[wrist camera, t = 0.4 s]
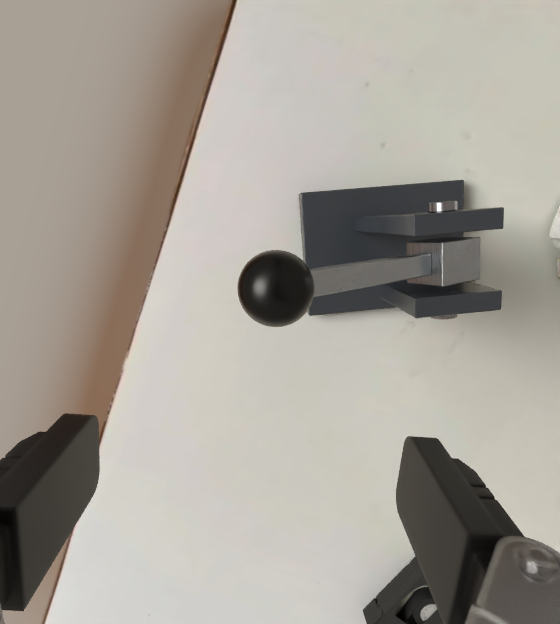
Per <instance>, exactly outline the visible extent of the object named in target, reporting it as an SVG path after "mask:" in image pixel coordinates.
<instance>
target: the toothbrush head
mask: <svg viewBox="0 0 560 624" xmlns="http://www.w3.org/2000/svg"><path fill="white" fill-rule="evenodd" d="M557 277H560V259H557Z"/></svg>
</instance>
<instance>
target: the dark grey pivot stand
mask: <svg viewBox="0 0 560 624" xmlns="http://www.w3.org/2000/svg"><path fill="white" fill-rule="evenodd" d="M299 204H300V218H301V233H302V247H303V261H304V263H305V264H306V265H307V267H308V268H309V269H313V268H320V267H326V266H333V265H340V264H346V263H353V262H360V261H366V260H373V259H380V258H386V257H393V256H400V255H406V254H407V244H406V243H407V242H411V241H418V240H426V239H433V238H441V237H463V233H464V232H470V231H482V230H493V229H503V218H504V208H503V207H501V208H482V209H464V180H455V181H443V182H431V183H418V184H406V185H393V186H381V187H369V188H356V189H344V190H331V191H319V192H307V193H301V194H299ZM501 298H502V291H501V290H497V289H494V288H490V287H486V286H483V285H479V284H475V283H472V282H465V283H460V284H456V285H451V286H446V287H437V286H428V285H420V284H411V283H408V282H407V280H402V281H397V282H391V283H386V284H381V285H375V286H370V287H365V288H359V289H354V290H348V291H343V292H338V293H332V294H327V295H322V296H316V297H313V300H312V303H311V305H310V307H309V309H308V311H307V313H308V314H309V315H310V316H312V315H322V314H333V313H343V312H353V311H364V310H374V309H384V308H395V307H397V308H399V309H401V310H403V311H405V312H406V313H408V314H410V315H412V316H413V317H415V318H423V317H431V318H434V319H452V318H455V317H457V314H463V313H474V312H484V311H494V310H501Z"/></svg>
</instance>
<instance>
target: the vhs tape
mask: <svg viewBox="0 0 560 624" xmlns="http://www.w3.org/2000/svg"><path fill="white" fill-rule="evenodd" d="M376 598H377V599H373V600H372V601H371V602H370V603H369V604H368V605H367V606H366V607H365V608H364V610H363V612H364V616H365V619H366V622H367V624H443V622H442V619H441V617H440V614H439V612H438V609H437V607H436V604H435V602H434V600H433V597H432V595H431V592H430V590H429V587H428V585H427V582H426V580H425V577H424V575H423V572H422V570H421V568H420V565H419V563H418V560H417V558H416V557H415V558H414V559H413V560H412V561H411V562H410V563H409V564H408V565H407V566H406V567H405V568H404V569H403V570H402V571H401V572H400V573H399V574H398V575H397V576H396V577H395V578H394V579H393V580H392V581H391V582H390V583H389V584H388V585H387V586H386V587H385V588H384V589H383V590H382V591H381V592H380V593H379V594H378V595H377V596H376Z"/></svg>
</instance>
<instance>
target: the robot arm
mask: <svg viewBox="0 0 560 624" xmlns="http://www.w3.org/2000/svg"><path fill="white" fill-rule="evenodd" d="M99 469H100V467H99V423H98V419H97V417H96V416H95V415H81V414H63V415H62V416H61V417H60V418H59V419H58V420H57V421H56V422H55V423H54V424H53V425H52V426H51V427H50V429H48V431H47V432H38V433H36V434H34V435H32V436H30V437H28V438H26V439H24V440H22V441H21V442H19V443H18V444H17V445H16V446H15V447H14V448H13V449H12V450H11V451H9V452H8V453H7V454H6V456H5V458H2V459H1V460H0V624H4V620H3V615H2V610H13V611H24V609H25V608H26V606H27V604H28V603H29V601H30V599H31V598H32V596H33V594H34V593H35V591H36V589H37V588H38V586H39V585H40V583H41V581H42V580H43V578H44V576H45V575H46V573H47V571H48V570H49V568H50V566H51V565H52V563H53V561H54V560H55V558H56V556H57V555H58V553H59V551H60V550H61V548H62V546H63V545H64V543H65V541H66V540H67V538H68V536H69V535H70V533H71V532H72V530H73V528H74V527H75V525H76V523H77V522H78V520H79V518H80V517H81V515H82V513H83V512H84V510H85V508H86V507H87V505H88V503H89V502H90V500H91V498H92V497H93V495H94V493H95V490H96V487H97V484H98V479H99ZM396 503H397V509H398V513H399V516H400V518H401V521H402V523H403V526H404V528H405V531H406V533H407V536H408V538H409V541H410V543H411V545H412V548H413V550H414V553H415V555H416V558H417V560H418V563H419V565H420V568H421V570H422V572H423V575H424V577H425V580H426V582H427V585H428V587H429V590H430V592H431V595H432V597H433V600H434V602H435V604H436V607H437V609H438V612H439V614H440V617H441V619H442V622H443V624H560V553H558V552H557V551H555V550H554V549H552V548H550V547H549V546H547V545H545V544H543V543H541V542H538V541H536V540H533V539H530V538H526V537H524V536H523V534H522V533H521V532H520V530H519V529H518V528H517V526H516V525H515V524H514V522H513V521H512V520H511V518H510V517H509V516H508V514H507V513H506V512H505V510H504V509H503V508H502V506H501V505H500V504H499V502H498V501H497V500H495V499H494V496H493V494H492V493H491V492H490V490H489V489H488V488H486V485H485V484H484V482H483V481H482V480H481V478H480V477H479V476H478V474H477V473H476V472H475V471H474V470H473V469H471V468H470V467H469V466H467V465H466V464H465V463H463V462H462V461H460V460H459V459H454V458H451V457H450V455H449V454H448V452H447V451H446V449H445V448H444V447H443V445H442V444H441V442H440V441H439V440H438V439H437V438H427V437H411V436H408V437H407V438H406V440H405V442H404V446H403V452H402V458H401V464H400V470H399V476H398V482H397V489H396Z"/></svg>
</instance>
